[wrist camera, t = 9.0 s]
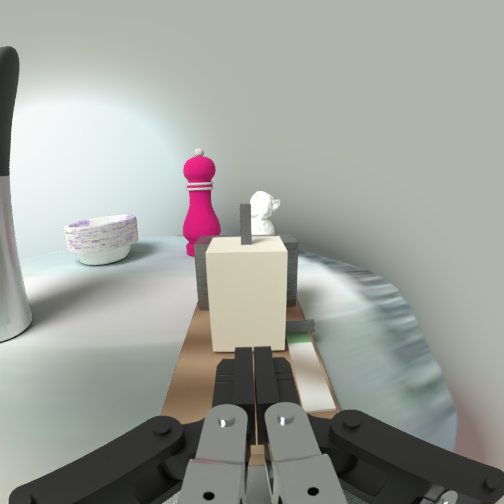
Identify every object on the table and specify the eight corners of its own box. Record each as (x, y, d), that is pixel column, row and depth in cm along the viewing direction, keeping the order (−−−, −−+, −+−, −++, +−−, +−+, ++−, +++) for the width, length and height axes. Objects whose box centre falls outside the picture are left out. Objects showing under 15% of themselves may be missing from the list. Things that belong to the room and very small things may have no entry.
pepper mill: (218, 257, 53) (214, 145, 48) (179, 257, 54) (174, 148, 49) (224, 248, 60) (221, 148, 55) (189, 248, 61) (185, 150, 56)
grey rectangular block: (295, 308, 30) (298, 242, 28) (199, 310, 30) (194, 244, 28) (290, 293, 34) (291, 234, 32) (204, 295, 34) (200, 236, 32)
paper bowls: (78, 253, 58) (74, 218, 56) (141, 246, 63) (138, 211, 61) (60, 274, 44) (53, 230, 42) (138, 266, 49) (133, 221, 47)
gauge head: (319, 347, 22) (328, 207, 20) (213, 351, 22) (203, 209, 19) (307, 319, 27) (312, 200, 24) (217, 321, 27) (211, 202, 24)
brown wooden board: (348, 455, 13) (353, 441, 13) (155, 460, 13) (149, 446, 13) (294, 302, 34) (294, 291, 34) (200, 304, 34) (199, 293, 34)
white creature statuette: (219, 262, 51) (217, 192, 48) (253, 252, 57) (252, 189, 54) (262, 274, 44) (261, 193, 41) (294, 261, 51) (295, 191, 48)
